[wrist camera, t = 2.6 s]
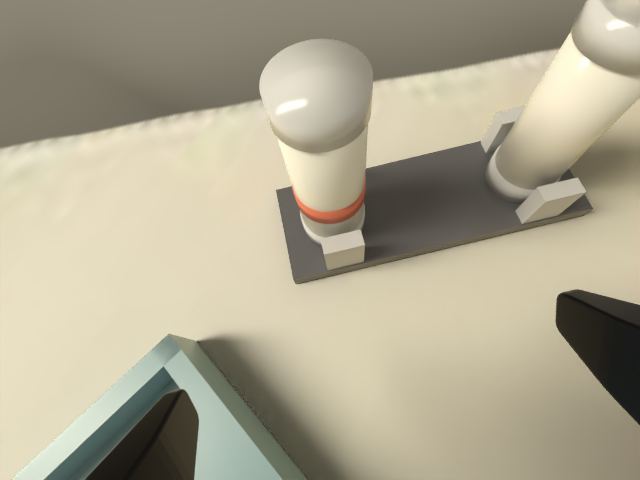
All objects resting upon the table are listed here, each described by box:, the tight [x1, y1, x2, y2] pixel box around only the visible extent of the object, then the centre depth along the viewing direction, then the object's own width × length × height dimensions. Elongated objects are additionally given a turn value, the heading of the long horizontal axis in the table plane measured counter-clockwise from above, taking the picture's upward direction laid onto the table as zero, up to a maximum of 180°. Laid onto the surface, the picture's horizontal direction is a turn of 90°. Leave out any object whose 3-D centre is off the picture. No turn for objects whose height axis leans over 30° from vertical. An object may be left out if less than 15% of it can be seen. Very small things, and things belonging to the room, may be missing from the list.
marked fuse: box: [260, 39, 373, 247], centre depth 18 cm, size 4×4×12 cm
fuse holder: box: [276, 106, 593, 284], centre depth 23 cm, size 7×20×4 cm, turn 103°
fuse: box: [485, 0, 640, 204], centre depth 18 cm, size 4×4×12 cm
